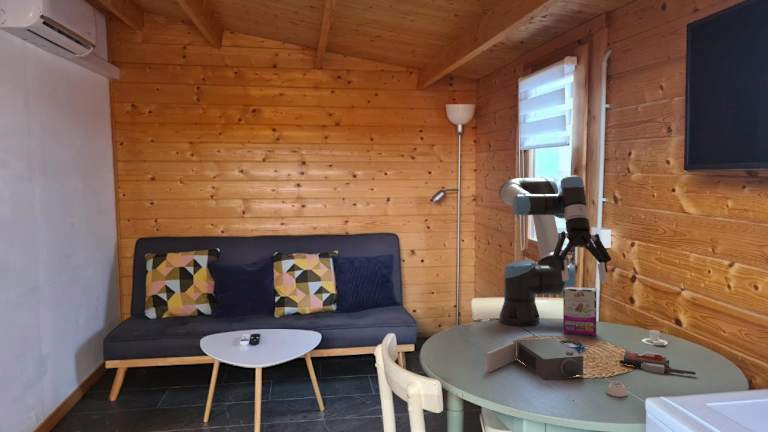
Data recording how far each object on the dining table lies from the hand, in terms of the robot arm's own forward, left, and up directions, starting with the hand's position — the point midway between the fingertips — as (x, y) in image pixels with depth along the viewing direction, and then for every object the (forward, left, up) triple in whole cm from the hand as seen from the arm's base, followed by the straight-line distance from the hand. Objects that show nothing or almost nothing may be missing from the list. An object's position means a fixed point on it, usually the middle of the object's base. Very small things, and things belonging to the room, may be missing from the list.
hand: (584, 281), depth 184 cm
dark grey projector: (+14, -20, -22) cm, 33 cm away
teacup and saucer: (-1, +24, -23) cm, 33 cm away
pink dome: (+36, -12, -23) cm, 44 cm away
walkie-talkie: (+21, +11, -23) cm, 33 cm away
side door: (+10, -33, -22) cm, 41 cm away
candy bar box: (-17, +8, -22) cm, 29 cm away
